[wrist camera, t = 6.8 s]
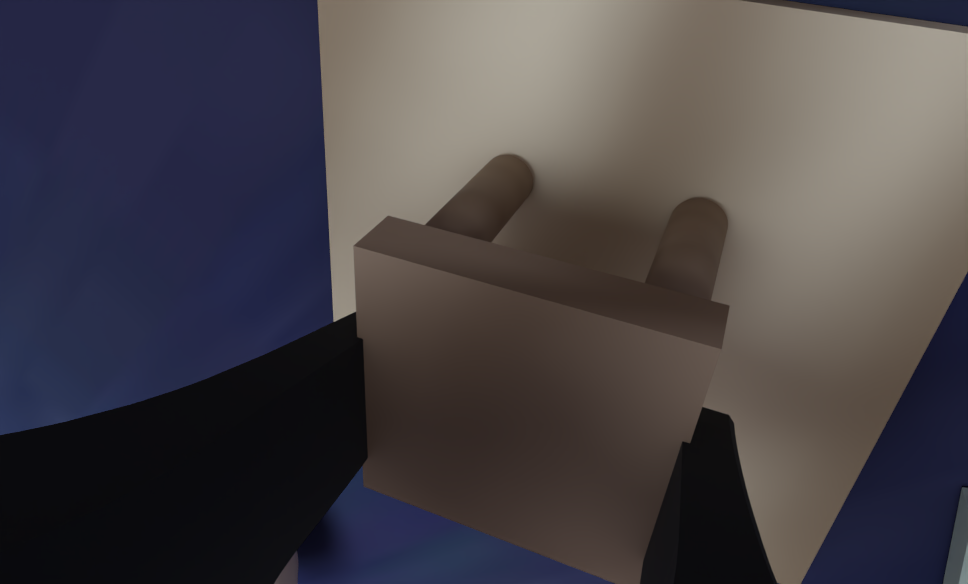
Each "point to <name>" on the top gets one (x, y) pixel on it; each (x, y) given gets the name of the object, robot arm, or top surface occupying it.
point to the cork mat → (690, 187)
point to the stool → (534, 374)
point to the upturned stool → (959, 545)
